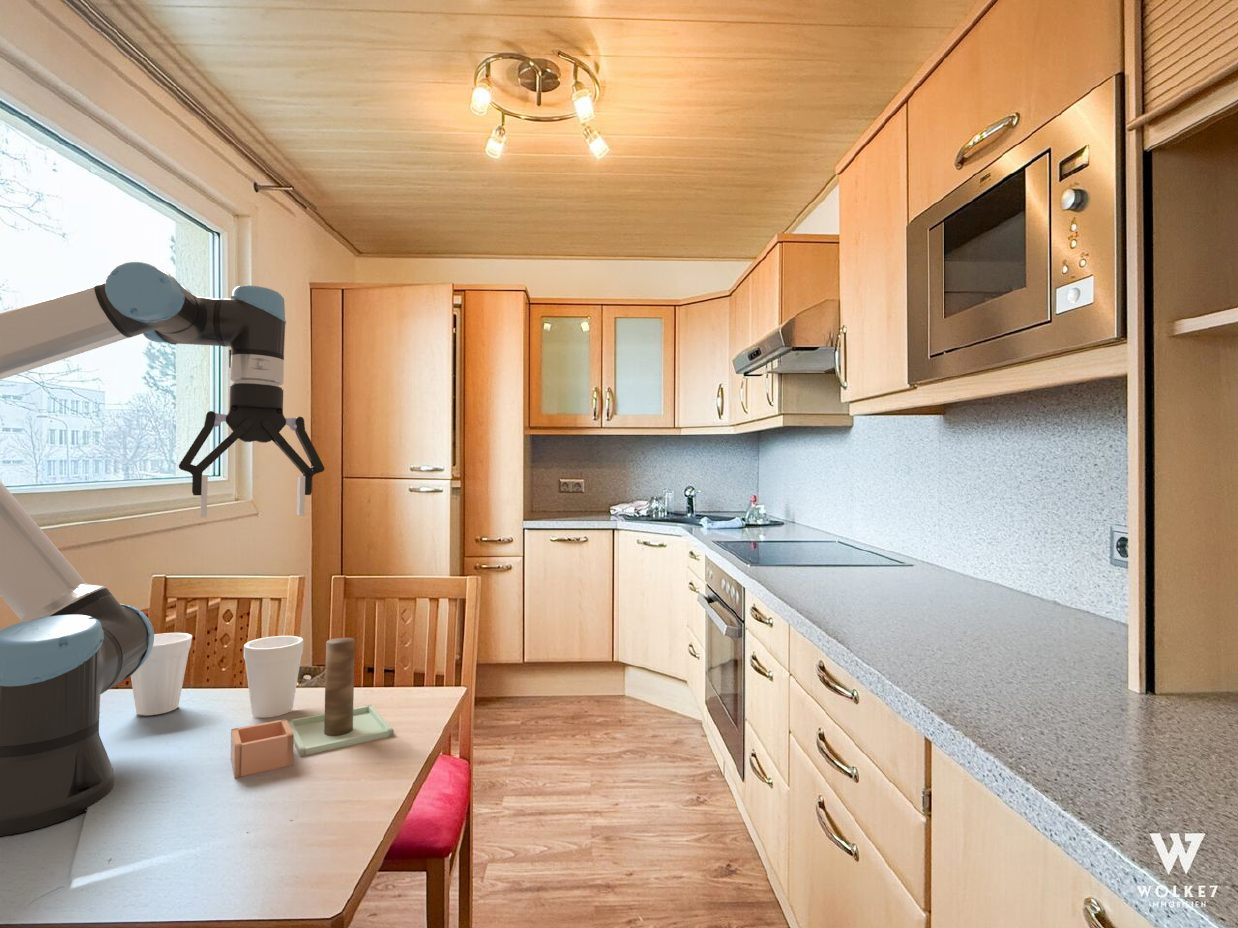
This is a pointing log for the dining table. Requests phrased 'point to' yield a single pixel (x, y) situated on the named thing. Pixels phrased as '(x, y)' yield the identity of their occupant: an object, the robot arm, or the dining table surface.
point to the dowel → (339, 686)
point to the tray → (364, 729)
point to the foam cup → (272, 674)
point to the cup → (161, 674)
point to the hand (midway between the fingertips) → (253, 516)
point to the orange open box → (261, 748)
